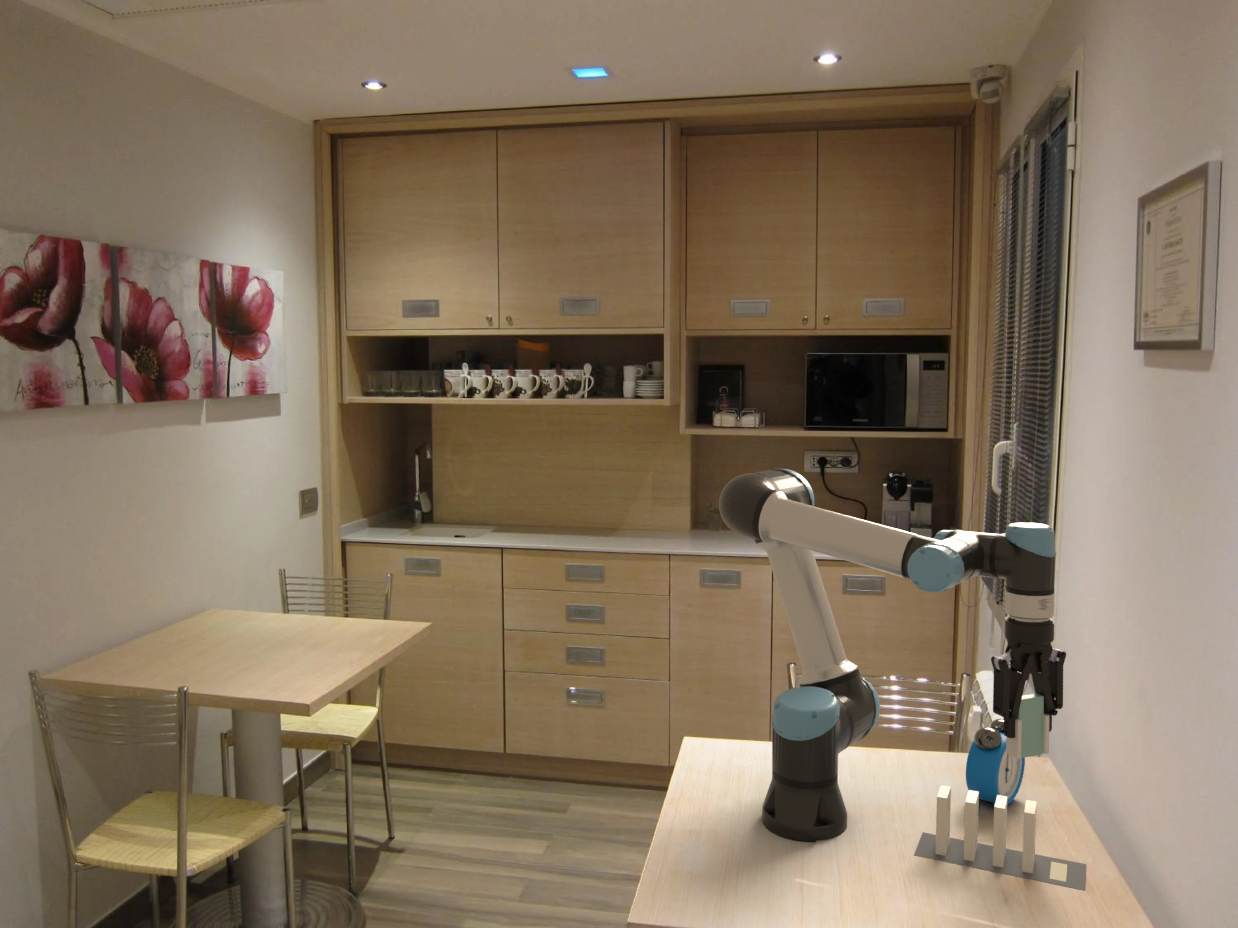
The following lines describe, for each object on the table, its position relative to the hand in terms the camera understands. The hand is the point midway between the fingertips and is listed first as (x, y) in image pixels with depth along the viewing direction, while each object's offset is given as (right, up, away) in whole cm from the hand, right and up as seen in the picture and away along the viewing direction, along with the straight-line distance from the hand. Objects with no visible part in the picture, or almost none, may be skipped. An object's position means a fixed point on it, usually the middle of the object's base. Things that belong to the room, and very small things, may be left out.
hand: (1027, 752), depth 164 cm
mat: (-5, -18, -2) cm, 18 cm away
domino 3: (-5, -17, -2) cm, 18 cm away
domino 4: (0, 0, 0) cm, 0 cm away
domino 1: (-14, -17, +2) cm, 22 cm away
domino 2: (-9, -17, 0) cm, 20 cm away
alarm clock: (+3, -15, +21) cm, 26 cm away
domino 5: (-1, -17, -4) cm, 18 cm away
